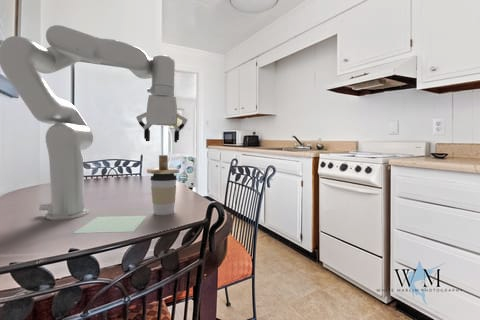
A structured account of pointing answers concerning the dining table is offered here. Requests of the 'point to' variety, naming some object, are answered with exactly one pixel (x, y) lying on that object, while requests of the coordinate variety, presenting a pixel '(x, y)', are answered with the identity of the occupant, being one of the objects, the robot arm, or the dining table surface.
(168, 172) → the lid
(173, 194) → the coffee cup
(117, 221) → the mat
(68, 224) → the dining table surface
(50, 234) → the dining table surface
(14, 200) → the dining table surface
